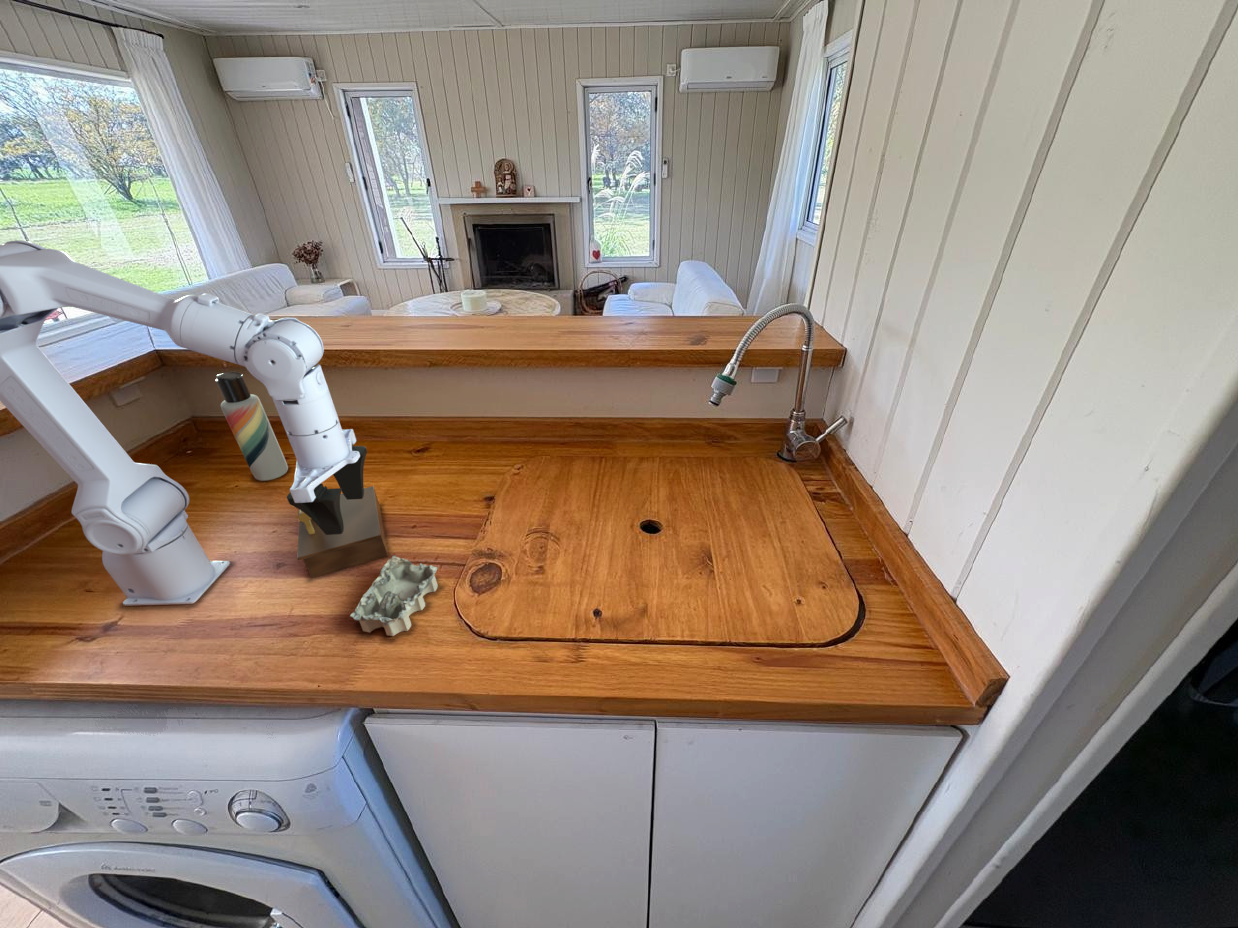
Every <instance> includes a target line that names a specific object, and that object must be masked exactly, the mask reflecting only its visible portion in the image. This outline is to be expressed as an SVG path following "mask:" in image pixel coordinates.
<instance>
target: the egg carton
mask: <svg viewBox="0 0 1238 928" xmlns="http://www.w3.org/2000/svg"><path fill="white" fill-rule="evenodd" d="M438 569H439V567H437V566H434V565H431V564H430V565H426V564H423V563H422V562H421V563H419V565H415V564H413V563H412V562H411V561H410V560H409V559H407V558H404V557H403V558H401V557H399V556H397V555H396V554H393V555H392V556H391V558H388V559H387V561H386V563H385V564H383V566H382V568H381V569H380V572H379V576H377V578H376V579H374V581H372V585H371V586H370V587H369V589H367V591H366V592H365V593H364V594H363V595H362V596H361V599H360V600H359V602H358V605H357V606H356V607H355V610H354V611H353V612H352V613H351V614H350V615H349V618H350V617H351V618H353V619H354V620H355V621H358V622H359V624H360V627H361V629H362V632H365V633H371V632H372V631H375V630H376V629H380V628H384V631H385V634H386V636H390V637H394V636H396V635H397V634H399V633H402V632H408V631H409V630H410V629H411V627H412V622H411V619H410V616H411V615H412V614H414V613H415V612H420V611H423V609H425V607H426V601H425V598H424V596H425V595H426V594H429V593H435V592H436V591H437V589H438V587H439V585H438V582H437V579H436V575H435V574H437V571H438Z"/></svg>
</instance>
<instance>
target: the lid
mask: <svg viewBox="0 0 1238 928" xmlns="http://www.w3.org/2000/svg"><path fill="white" fill-rule="evenodd" d="M374 489H375V487H374V485H372V486H368V487H365V488H364V496H363V498H362V499H351V500H347V499H346V497H345V496H344V494H343V493H341V494H340V511H341V515H342V519H343V524H344V531H343V532H342V534H334V535H326V534H325V533H324V532H323V531H322V530H321V529H320V527H319V526H318V525H317V524H316V523H315V522H314V521H313V520H312V519H311V518H310V517H309V516H308V515H307V514H305V513H304V512H302V511H301V510H299V509H297V510H298V512H297V519H298V538H297V551H296V552H297V554H296V559H297V561H299V562H300V561H302V560H303V559H306V558H309V557H313V556H317V555H320V554H324V553H327V552H331V551H335V550H338V549H342V548H345V547H349V546H352V545H356V544H360V543H363V542H367V541H370V540H374V539H377V538H381V530H380V523H379V517H378V510H377V504H376V497H375V493H376V490H375V491H374Z"/></svg>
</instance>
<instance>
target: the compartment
mask: <svg viewBox="0 0 1238 928" xmlns="http://www.w3.org/2000/svg"><path fill="white" fill-rule="evenodd" d="M374 491H375V497H376V504H377V510H378V517H379V523H380V530H381V538H377V539H374V540H370V541H367V542H363V543H360V544H356V545H352V546H349V547H345V548H342V549H338V550H335V551H331V552H327V553H324V554H320V555H317V556H313V557H309V558H306V559H302V560H303V562H304V565H305V567H306V569H307V571H308V573H309V576H310V578H311V579H314V578H319V577H321V576H324V575H328V574H331V573H334V572H338V571H341V570H346V569H349V568H352V567H356V566H359V565H362V564H365V563H369V562H372V561H376V560H379V559H382V558H386V557H388V556H389V553H388V548H387V541H386V536H385V530H384V529H385V528H384V523H383V518H382V517H383V515H382V510H381V505H380V501H379V498H378V495H377V492H376V490H375V488H374Z"/></svg>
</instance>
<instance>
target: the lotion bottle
mask: <svg viewBox="0 0 1238 928" xmlns="http://www.w3.org/2000/svg"><path fill="white" fill-rule="evenodd" d="M215 382H216V385H217V387H218V389H219V391H220V393H221V395H222V397H223V399H224V400H223V401H222V402H221V403H220V408H221V411H222V413H223V415H224V417H225V420H226V422H227V424H228V426H229V428H230V430H231V432H232V434H233V436H234V439H235V440H236V442H237V444H238V447H239V449H240V451H241V453H242V455H243V458H244V459H245V462H246V464H247V466H248V468H249V470H250V472H251V474H252V476H253V478H254V479H255V480H257V481H265V482H266V481H271V480H275V479H277V478H281V477H282V476H284V475H285V474H287V472H288V470H289V466H288V463H287V460H286V458H285V455H284V454H283V451H282V449H281V447H280V444H279V442H278V439H277V437H276V434H275V432H274V430H273V428H272V425H271V422H270V420H269V417H268V416H267V414H266V411H265V408H264V406H263V404H262V402H261V399H260V397H259V396H258V395H256V394H251V392H250V390H249V387H248V385H247V383H246V381H245V378H244V375H243V374H242V373H241V372H237V371H229V372H223V373H219V374H217V375H216V379H215Z"/></svg>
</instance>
